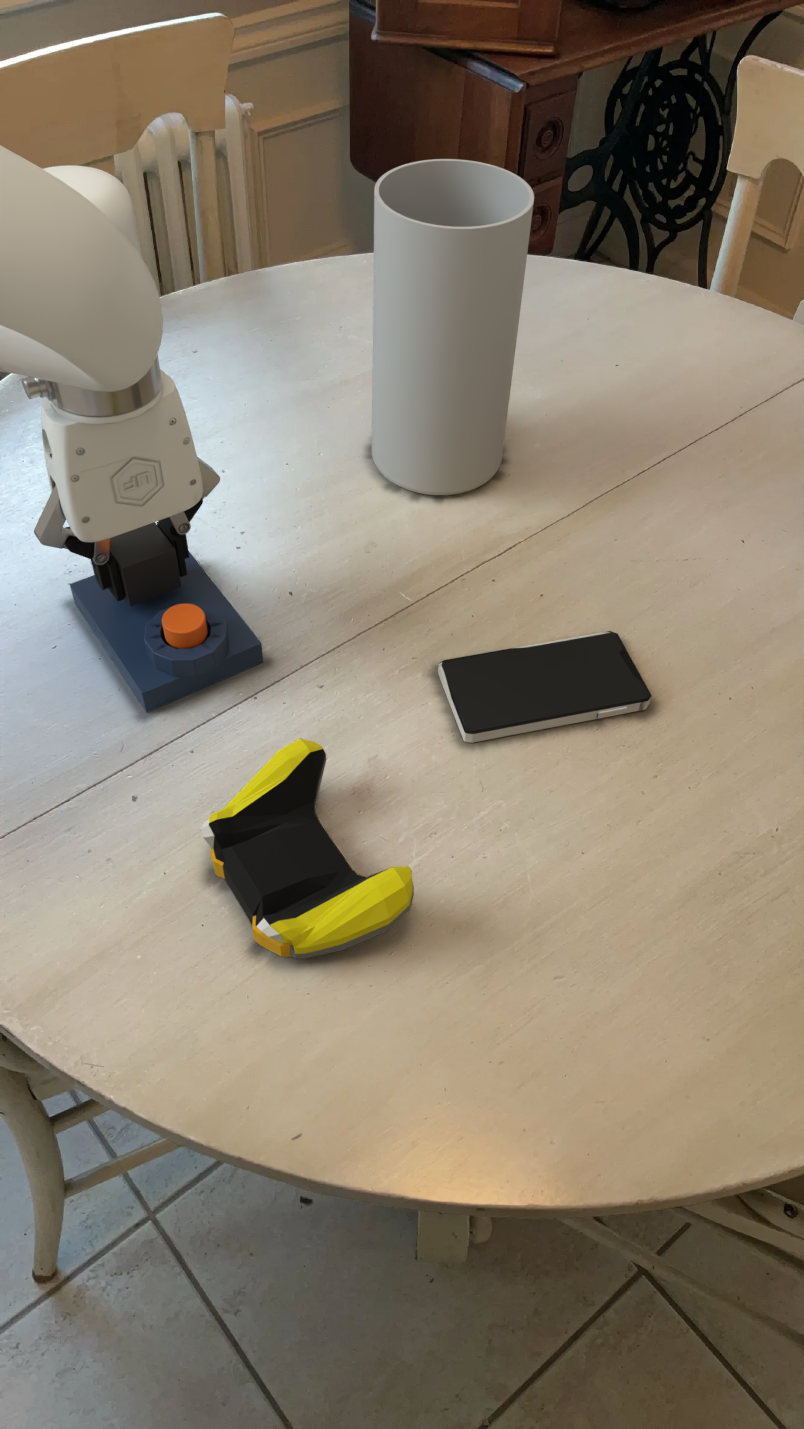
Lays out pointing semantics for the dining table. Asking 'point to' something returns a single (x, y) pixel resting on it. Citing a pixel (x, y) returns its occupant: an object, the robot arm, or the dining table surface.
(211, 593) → the button base
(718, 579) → the dining table surface
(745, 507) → the dining table surface
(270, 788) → the gaming controller
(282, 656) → the dining table surface
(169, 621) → the power button
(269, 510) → the dining table surface
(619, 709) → the smartphone
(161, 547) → the block
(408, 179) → the cylinder vase
